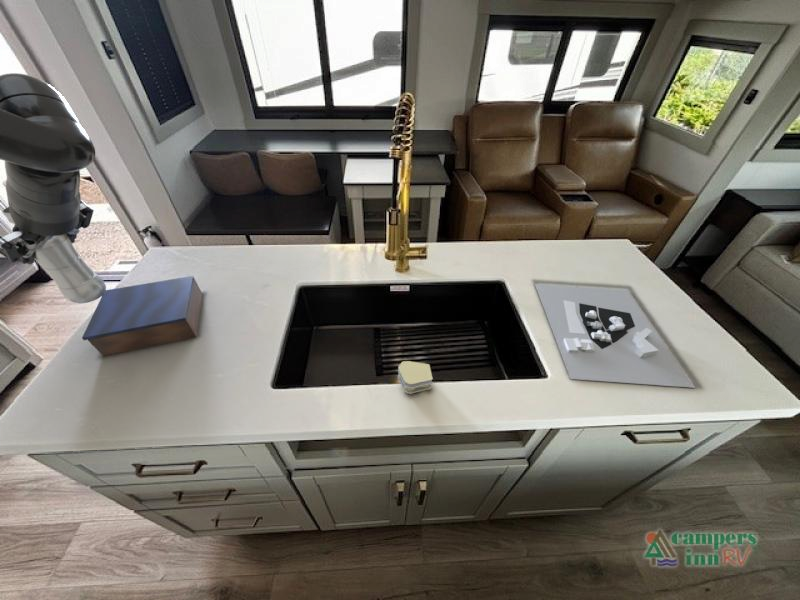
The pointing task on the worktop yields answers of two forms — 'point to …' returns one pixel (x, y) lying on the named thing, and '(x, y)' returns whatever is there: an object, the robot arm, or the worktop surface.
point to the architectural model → (608, 337)
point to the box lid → (140, 307)
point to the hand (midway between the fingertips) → (47, 249)
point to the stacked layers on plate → (414, 376)
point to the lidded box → (154, 331)
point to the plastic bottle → (67, 268)
